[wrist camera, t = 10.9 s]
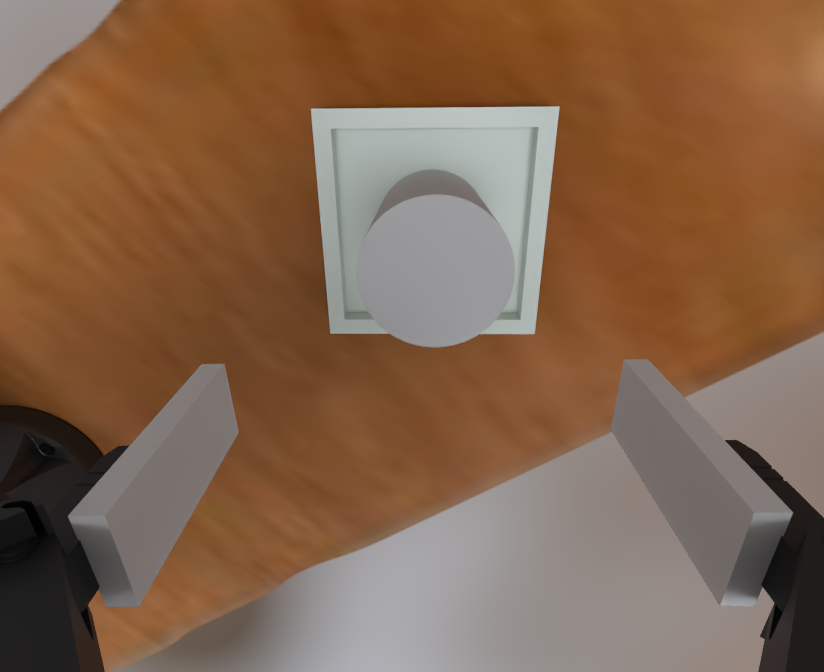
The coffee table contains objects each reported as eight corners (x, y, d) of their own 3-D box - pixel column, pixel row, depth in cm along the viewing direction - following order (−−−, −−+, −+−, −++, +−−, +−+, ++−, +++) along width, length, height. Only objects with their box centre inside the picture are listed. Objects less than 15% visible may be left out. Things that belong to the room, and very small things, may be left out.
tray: (335, 321, 40) (330, 333, 38) (318, 109, 33) (310, 108, 31) (528, 321, 39) (534, 334, 37) (550, 107, 33) (559, 106, 30)
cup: (359, 193, 34) (330, 229, 24) (467, 151, 33) (488, 168, 22) (400, 293, 38) (390, 365, 27) (500, 258, 36) (532, 319, 25)
